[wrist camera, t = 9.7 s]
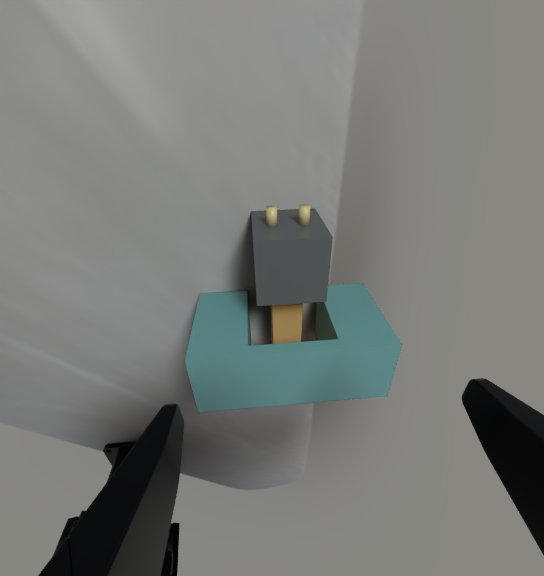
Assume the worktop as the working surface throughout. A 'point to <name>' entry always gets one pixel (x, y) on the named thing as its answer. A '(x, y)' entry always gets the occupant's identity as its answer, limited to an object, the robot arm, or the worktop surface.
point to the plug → (290, 265)
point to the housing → (290, 354)
